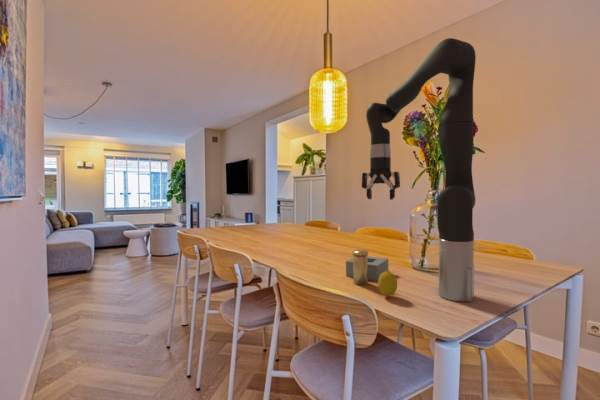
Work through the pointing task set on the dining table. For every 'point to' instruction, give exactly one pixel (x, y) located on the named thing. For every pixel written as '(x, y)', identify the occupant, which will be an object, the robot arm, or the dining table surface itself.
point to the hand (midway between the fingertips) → (380, 199)
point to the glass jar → (360, 267)
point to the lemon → (387, 283)
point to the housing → (370, 267)
